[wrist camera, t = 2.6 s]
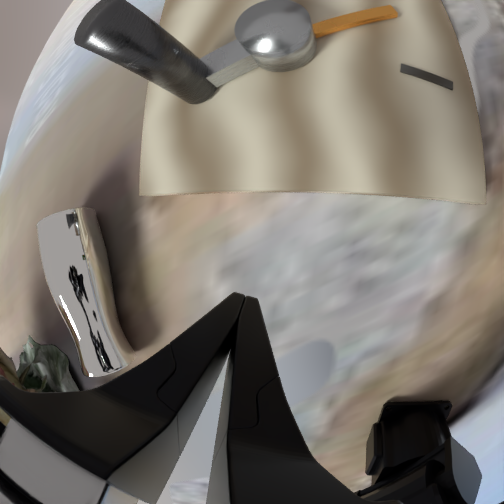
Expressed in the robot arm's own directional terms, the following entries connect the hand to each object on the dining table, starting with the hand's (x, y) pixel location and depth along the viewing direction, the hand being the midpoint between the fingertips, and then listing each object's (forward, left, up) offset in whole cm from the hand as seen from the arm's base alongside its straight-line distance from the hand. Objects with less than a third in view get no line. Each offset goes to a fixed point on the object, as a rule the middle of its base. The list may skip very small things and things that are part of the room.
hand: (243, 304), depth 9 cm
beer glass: (+17, +12, -8) cm, 22 cm away
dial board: (0, -16, -11) cm, 19 cm away
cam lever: (0, -16, -9) cm, 18 cm away
